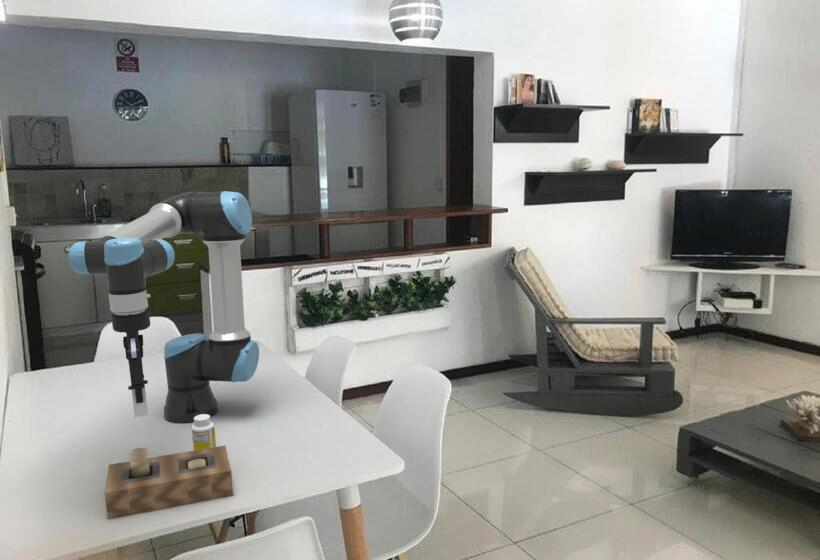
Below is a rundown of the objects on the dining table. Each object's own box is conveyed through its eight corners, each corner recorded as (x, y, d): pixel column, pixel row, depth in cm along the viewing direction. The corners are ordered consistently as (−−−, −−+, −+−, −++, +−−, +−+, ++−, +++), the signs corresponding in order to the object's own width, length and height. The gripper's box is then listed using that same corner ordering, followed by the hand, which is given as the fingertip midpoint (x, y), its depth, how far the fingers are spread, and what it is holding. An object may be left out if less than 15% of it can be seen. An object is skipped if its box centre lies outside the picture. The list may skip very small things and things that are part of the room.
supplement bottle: (208, 447, 178) (205, 411, 176) (221, 453, 175) (217, 416, 173) (189, 455, 174) (186, 417, 172) (202, 461, 171) (198, 423, 169)
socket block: (107, 519, 145) (104, 493, 144) (111, 488, 158) (108, 464, 157) (233, 495, 154) (231, 470, 153) (227, 468, 167) (225, 445, 166)
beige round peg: (131, 482, 151) (129, 456, 150) (132, 474, 154) (129, 449, 153) (150, 478, 152) (147, 453, 151) (150, 471, 156) (147, 446, 154)
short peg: (190, 492, 156) (188, 467, 155) (190, 484, 159) (187, 460, 158) (208, 488, 157) (205, 464, 156) (206, 481, 160) (204, 457, 159)
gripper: (149, 315, 141) (160, 422, 146) (148, 302, 153) (158, 402, 158) (109, 319, 139) (122, 428, 143) (112, 306, 151) (123, 407, 155)
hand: (141, 414), depth 151 cm, fingers closed
